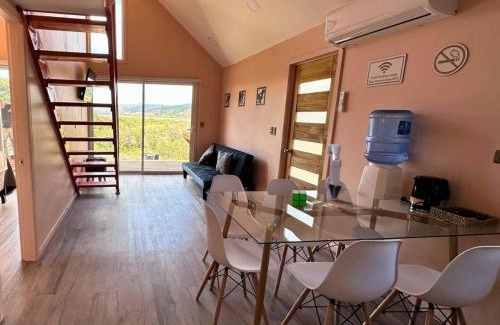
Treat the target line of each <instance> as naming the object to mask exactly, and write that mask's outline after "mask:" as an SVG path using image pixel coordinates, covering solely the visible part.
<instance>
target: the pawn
mask: <svg viewBox="0 0 500 325" xmlns="http://www.w3.org/2000/svg"><path fill="white" fill-rule="evenodd" d="M335 193H336V190H335V188H333V191H332V196H331V198H332V199H337V198H338V197H337V196H335ZM337 200H338V199H337Z"/></svg>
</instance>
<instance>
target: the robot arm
mask: <svg viewBox="0 0 500 325" xmlns="http://www.w3.org/2000/svg"><path fill="white" fill-rule="evenodd" d="M341 152H342V145H341V144H340V143H328V144H327V155H328V156H329V158H330V160H329V161H330V162H329V167H330V168H329V176H328V177H327V178H326V180H325V188H326V190H327V191H326V200H328V201H336V200H341V199H339V198H340V192H341V190H342V188H346V184H345V183H341V182H340V178H341V177H340V176H341V168H342V159H341V156H340V154H341ZM333 188H335V190H336V193H335V196H337V197H338V198H337V199H332V198H331V196H332V191H333Z"/></svg>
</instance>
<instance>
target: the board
mask: <svg viewBox="0 0 500 325" xmlns="http://www.w3.org/2000/svg"><path fill="white" fill-rule="evenodd" d="M309 203H310V204H315V205H318V206H323V207H326V208H330V209H334V211H336V212H343V211H345V210H348V207H344V206H342V205H338V204H332V203H329V202H325V201H321V200H314V201H310V202H309Z"/></svg>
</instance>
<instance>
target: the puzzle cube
mask: <svg viewBox="0 0 500 325" xmlns="http://www.w3.org/2000/svg"><path fill="white" fill-rule="evenodd" d="M306 206H307V191H306V190H295V189H294V190H291V207H292V208H299V207H306Z"/></svg>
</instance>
